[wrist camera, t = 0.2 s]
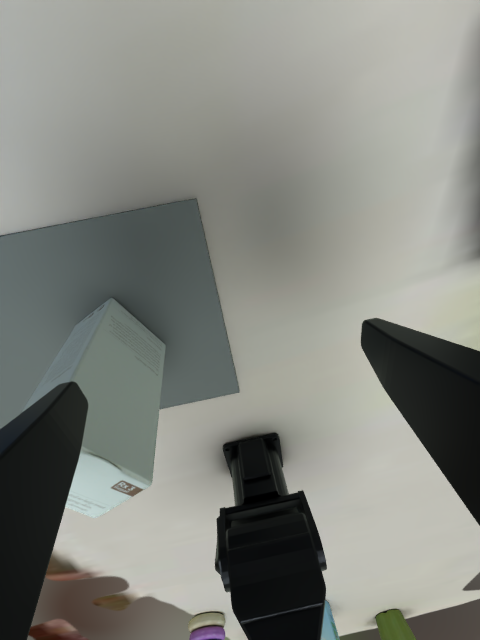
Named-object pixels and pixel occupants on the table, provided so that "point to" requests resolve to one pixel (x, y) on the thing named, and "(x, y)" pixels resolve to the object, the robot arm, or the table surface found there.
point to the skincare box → (111, 405)
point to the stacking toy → (207, 627)
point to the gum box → (328, 625)
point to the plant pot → (393, 626)
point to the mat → (123, 286)
